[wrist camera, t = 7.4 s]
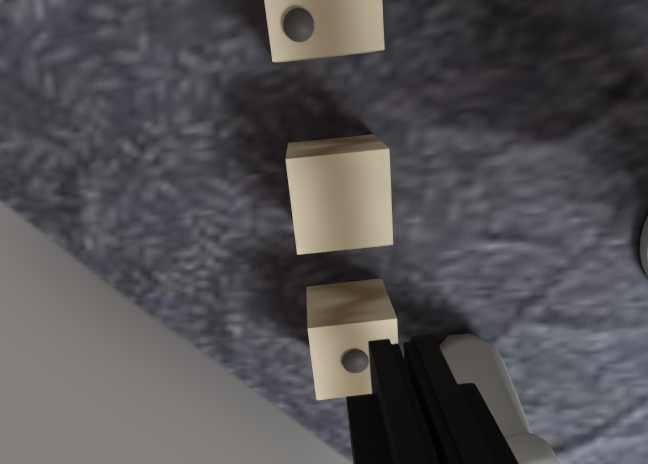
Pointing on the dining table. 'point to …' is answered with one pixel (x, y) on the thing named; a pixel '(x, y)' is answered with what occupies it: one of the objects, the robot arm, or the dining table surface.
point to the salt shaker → (496, 394)
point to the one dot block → (347, 334)
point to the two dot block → (323, 28)
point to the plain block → (340, 193)
